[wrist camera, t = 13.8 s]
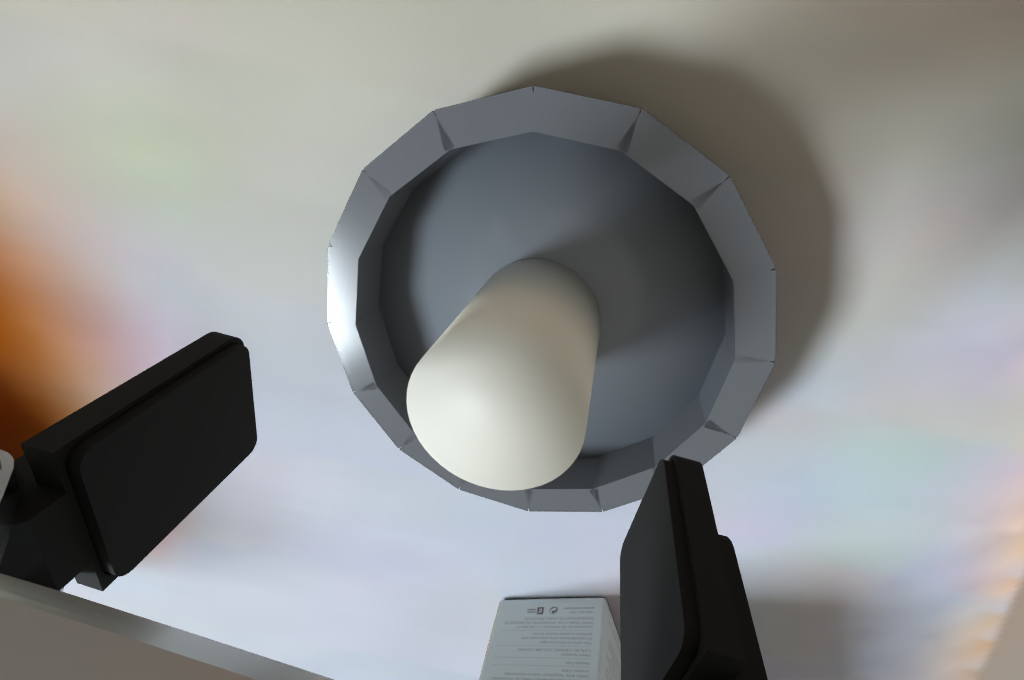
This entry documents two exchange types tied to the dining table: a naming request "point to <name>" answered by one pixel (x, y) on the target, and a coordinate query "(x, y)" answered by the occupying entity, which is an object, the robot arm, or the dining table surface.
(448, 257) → the round bowl
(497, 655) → the small box
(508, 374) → the white egg
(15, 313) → the dining table surface
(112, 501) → the robot arm
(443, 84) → the dining table surface
